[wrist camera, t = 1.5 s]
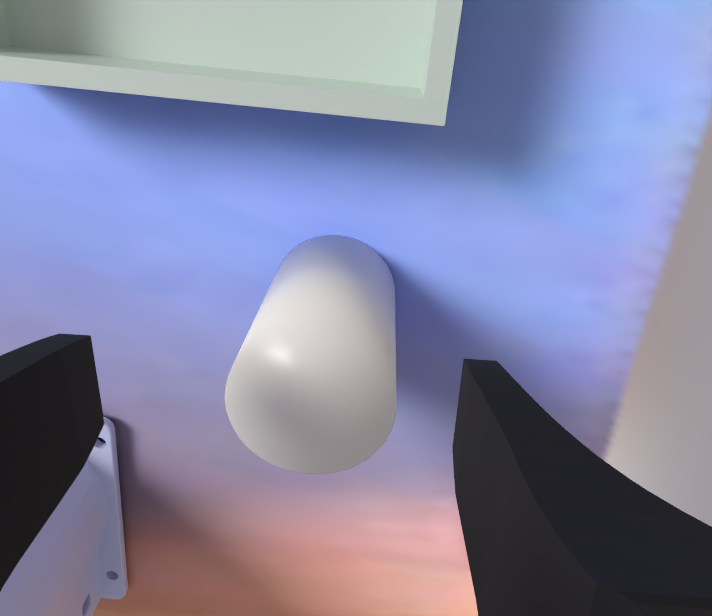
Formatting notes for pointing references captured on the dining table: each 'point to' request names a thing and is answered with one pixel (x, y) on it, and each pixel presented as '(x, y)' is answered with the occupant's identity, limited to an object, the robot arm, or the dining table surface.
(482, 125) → the dining table surface
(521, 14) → the dining table surface
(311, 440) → the white capsule cylinder
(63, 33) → the tote
